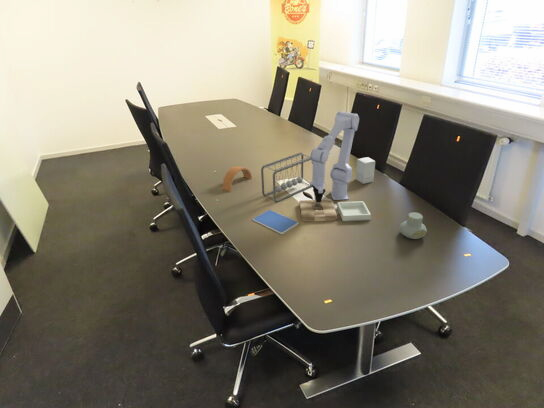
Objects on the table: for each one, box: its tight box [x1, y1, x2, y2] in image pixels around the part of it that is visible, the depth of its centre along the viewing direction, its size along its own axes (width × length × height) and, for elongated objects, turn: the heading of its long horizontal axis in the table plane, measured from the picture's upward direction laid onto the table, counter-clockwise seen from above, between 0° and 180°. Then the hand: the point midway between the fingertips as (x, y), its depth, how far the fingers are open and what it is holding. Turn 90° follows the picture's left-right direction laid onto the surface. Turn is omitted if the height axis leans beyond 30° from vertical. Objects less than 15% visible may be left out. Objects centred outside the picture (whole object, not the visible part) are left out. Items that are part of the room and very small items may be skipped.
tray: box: [336, 200, 372, 222], centre depth 172 cm, size 13×13×3 cm
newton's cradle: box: [260, 152, 313, 203], centre depth 191 cm, size 30×10×18 cm, turn 130°
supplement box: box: [355, 156, 376, 185], centre depth 201 cm, size 7×7×13 cm
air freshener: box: [399, 211, 428, 240], centre depth 153 cm, size 11×8×10 cm
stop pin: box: [314, 188, 321, 207], centre depth 171 cm, size 4×4×9 cm
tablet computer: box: [252, 209, 299, 235], centre depth 168 cm, size 19×13×1 cm, turn 47°
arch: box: [222, 165, 253, 193], centre depth 203 cm, size 6×20×10 cm, turn 145°
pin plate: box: [299, 198, 338, 222], centre depth 174 cm, size 16×16×2 cm
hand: (317, 199), depth 171 cm, fingers closed on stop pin, 4 cm apart
